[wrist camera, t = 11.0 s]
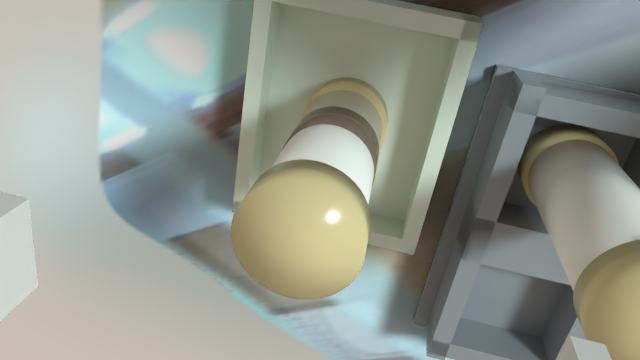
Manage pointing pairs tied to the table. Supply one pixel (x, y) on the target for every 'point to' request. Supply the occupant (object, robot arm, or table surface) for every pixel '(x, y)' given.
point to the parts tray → (373, 68)
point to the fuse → (590, 229)
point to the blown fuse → (315, 196)
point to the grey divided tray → (514, 225)
